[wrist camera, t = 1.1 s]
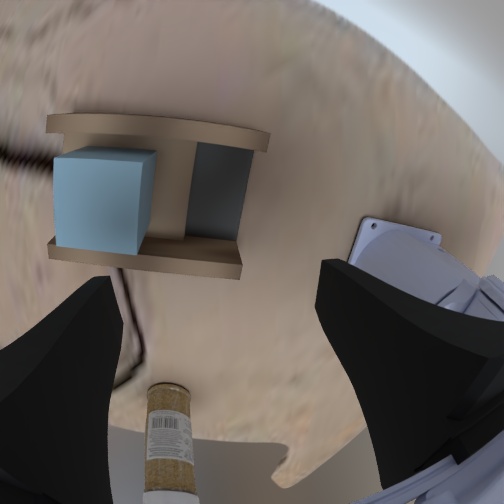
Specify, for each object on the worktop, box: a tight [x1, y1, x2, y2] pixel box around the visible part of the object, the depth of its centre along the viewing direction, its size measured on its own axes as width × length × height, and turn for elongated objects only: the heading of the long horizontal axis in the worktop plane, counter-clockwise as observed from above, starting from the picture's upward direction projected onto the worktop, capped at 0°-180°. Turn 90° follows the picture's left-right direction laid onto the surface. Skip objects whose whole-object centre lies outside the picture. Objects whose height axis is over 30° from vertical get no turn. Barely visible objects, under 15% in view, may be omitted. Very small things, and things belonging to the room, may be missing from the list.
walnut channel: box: [46, 113, 270, 280], centre depth 16 cm, size 12×8×4 cm
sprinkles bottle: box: [143, 384, 199, 504], centre depth 21 cm, size 5×4×14 cm
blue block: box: [53, 146, 157, 255], centre depth 14 cm, size 4×4×4 cm
